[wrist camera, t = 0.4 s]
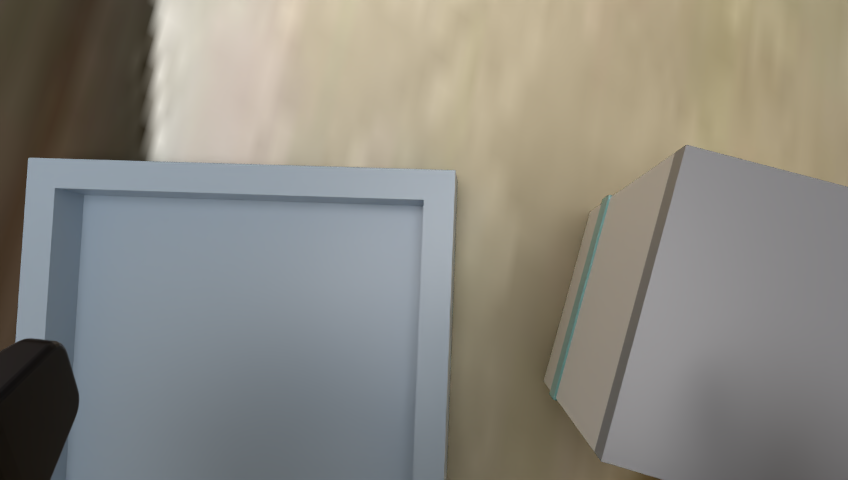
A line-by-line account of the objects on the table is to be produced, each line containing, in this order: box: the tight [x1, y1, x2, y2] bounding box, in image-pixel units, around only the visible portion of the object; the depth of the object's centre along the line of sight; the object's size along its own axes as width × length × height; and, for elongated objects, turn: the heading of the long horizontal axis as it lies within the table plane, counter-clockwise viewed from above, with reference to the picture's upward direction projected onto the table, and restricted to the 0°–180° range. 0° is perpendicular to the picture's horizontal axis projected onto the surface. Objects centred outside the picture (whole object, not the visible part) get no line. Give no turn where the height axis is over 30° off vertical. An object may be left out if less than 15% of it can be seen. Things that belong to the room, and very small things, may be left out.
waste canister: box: [544, 145, 848, 480], centre depth 17 cm, size 5×5×10 cm
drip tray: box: [16, 158, 458, 480], centre depth 22 cm, size 12×12×2 cm
